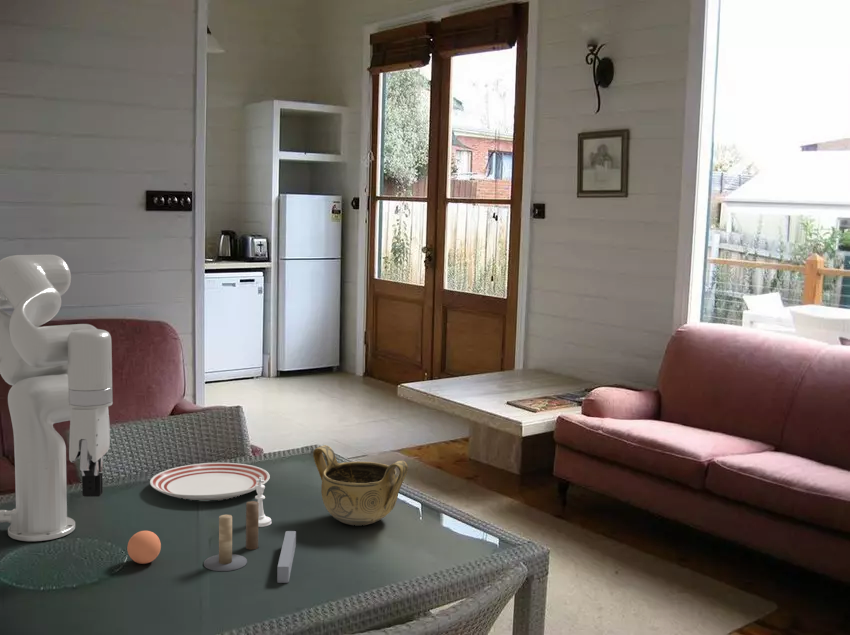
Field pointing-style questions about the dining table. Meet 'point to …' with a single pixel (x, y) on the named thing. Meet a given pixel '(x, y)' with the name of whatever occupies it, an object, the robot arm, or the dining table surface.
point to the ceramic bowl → (358, 487)
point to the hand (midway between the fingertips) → (92, 495)
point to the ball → (144, 547)
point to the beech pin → (225, 539)
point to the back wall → (286, 557)
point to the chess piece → (261, 504)
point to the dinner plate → (209, 480)
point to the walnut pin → (252, 524)
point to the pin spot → (214, 564)
